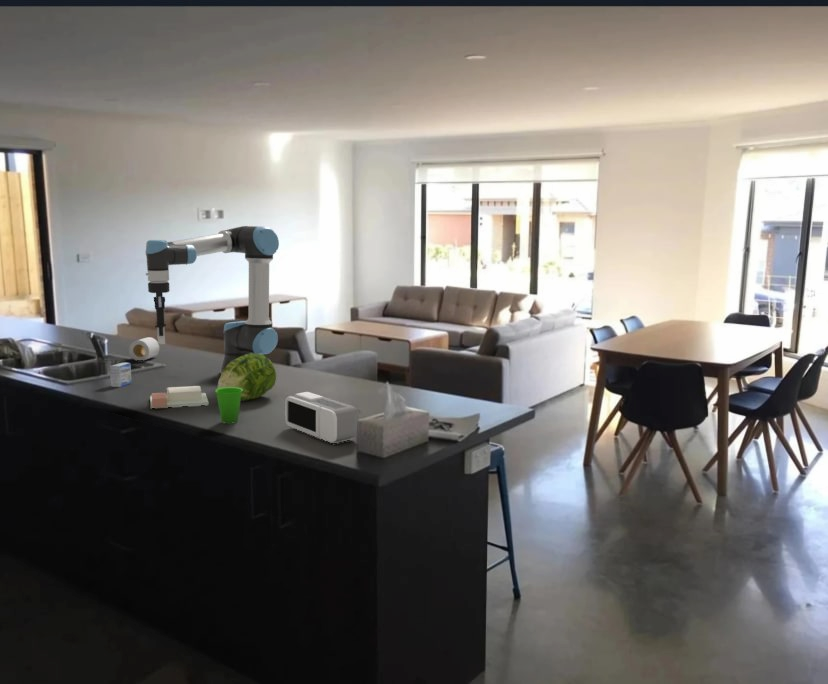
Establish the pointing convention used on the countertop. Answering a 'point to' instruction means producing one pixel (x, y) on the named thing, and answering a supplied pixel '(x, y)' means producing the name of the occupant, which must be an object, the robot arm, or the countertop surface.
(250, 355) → the lettuce
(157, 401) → the pink rectangular block
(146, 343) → the toilet paper
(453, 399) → the countertop surface
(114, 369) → the medicine box
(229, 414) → the cup
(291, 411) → the alarm clock
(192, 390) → the cream flat block
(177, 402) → the board
